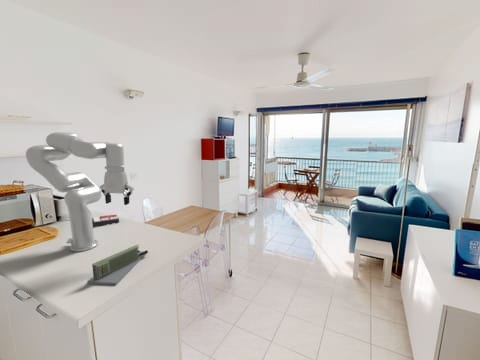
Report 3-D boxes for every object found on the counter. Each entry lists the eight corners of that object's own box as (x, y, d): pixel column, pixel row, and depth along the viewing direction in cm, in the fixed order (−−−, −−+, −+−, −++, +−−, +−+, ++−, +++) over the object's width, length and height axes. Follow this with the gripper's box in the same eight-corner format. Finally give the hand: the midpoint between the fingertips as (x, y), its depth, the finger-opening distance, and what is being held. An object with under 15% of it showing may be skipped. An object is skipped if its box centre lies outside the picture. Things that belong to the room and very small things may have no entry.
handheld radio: (92, 278, 96) (145, 252, 117) (96, 280, 94) (149, 254, 115) (90, 263, 94) (144, 240, 115) (95, 265, 93) (149, 242, 114)
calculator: (119, 218, 161) (93, 221, 152) (119, 224, 162) (93, 227, 153) (116, 213, 170) (92, 216, 161) (116, 219, 171) (92, 222, 162)
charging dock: (87, 283, 94) (87, 281, 93) (124, 252, 119) (123, 250, 119) (116, 285, 93) (116, 282, 92) (146, 253, 118) (146, 251, 118)
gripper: (93, 169, 110) (96, 204, 113) (127, 171, 108) (129, 207, 111) (104, 167, 118) (106, 200, 121) (136, 169, 116) (138, 202, 119)
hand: (117, 203), depth 116 cm, fingers open, 9 cm apart
